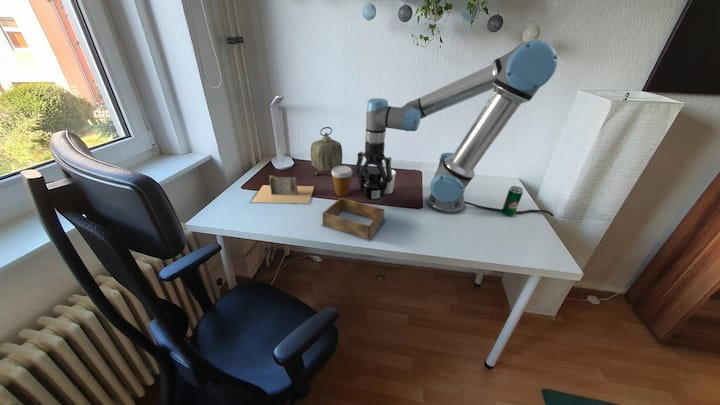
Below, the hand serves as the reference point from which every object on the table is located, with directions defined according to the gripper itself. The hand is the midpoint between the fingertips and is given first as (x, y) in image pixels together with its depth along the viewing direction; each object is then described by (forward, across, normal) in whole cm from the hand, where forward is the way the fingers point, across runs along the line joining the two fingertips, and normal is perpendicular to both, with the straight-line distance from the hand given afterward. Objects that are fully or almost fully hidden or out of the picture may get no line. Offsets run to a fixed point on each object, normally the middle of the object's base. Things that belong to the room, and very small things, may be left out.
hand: (372, 192), depth 116 cm
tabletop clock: (+6, +33, -17) cm, 37 cm away
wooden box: (+5, 0, +17) cm, 18 cm away
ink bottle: (+2, 0, 0) cm, 2 cm away
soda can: (+5, -54, -20) cm, 58 cm away
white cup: (+6, -1, -14) cm, 15 cm away
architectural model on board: (+6, +39, +11) cm, 41 cm away
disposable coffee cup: (+6, +16, -2) cm, 17 cm away
